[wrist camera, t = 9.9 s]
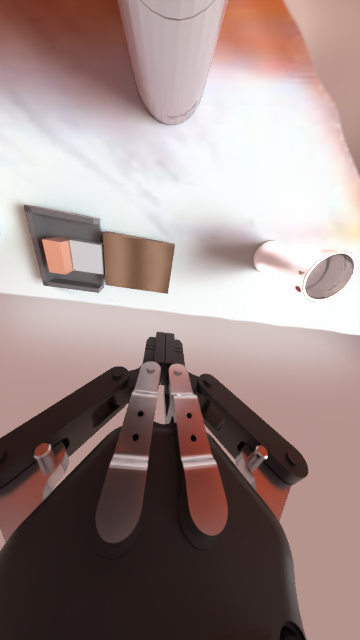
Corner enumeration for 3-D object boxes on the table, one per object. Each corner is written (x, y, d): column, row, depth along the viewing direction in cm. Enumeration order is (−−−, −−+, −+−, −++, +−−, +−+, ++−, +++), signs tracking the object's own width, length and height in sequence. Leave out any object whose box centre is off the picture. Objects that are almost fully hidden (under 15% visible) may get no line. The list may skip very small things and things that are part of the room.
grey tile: (105, 243, 30) (100, 245, 28) (107, 270, 32) (102, 274, 30) (76, 238, 29) (69, 239, 27) (80, 266, 32) (73, 270, 30)
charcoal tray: (99, 218, 28) (93, 218, 26) (103, 287, 35) (98, 292, 32) (37, 206, 27) (23, 204, 25) (53, 280, 33) (43, 285, 31)
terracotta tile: (59, 242, 25) (41, 239, 25) (65, 274, 28) (49, 272, 27) (75, 239, 29) (60, 236, 29) (79, 267, 32) (65, 265, 31)
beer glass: (252, 278, 36) (300, 310, 23) (248, 245, 32) (302, 261, 20) (285, 266, 35) (353, 293, 22) (284, 232, 32) (364, 239, 19)
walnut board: (174, 243, 31) (174, 245, 29) (167, 288, 36) (167, 293, 33) (108, 231, 30) (102, 232, 27) (110, 280, 34) (105, 284, 32)
